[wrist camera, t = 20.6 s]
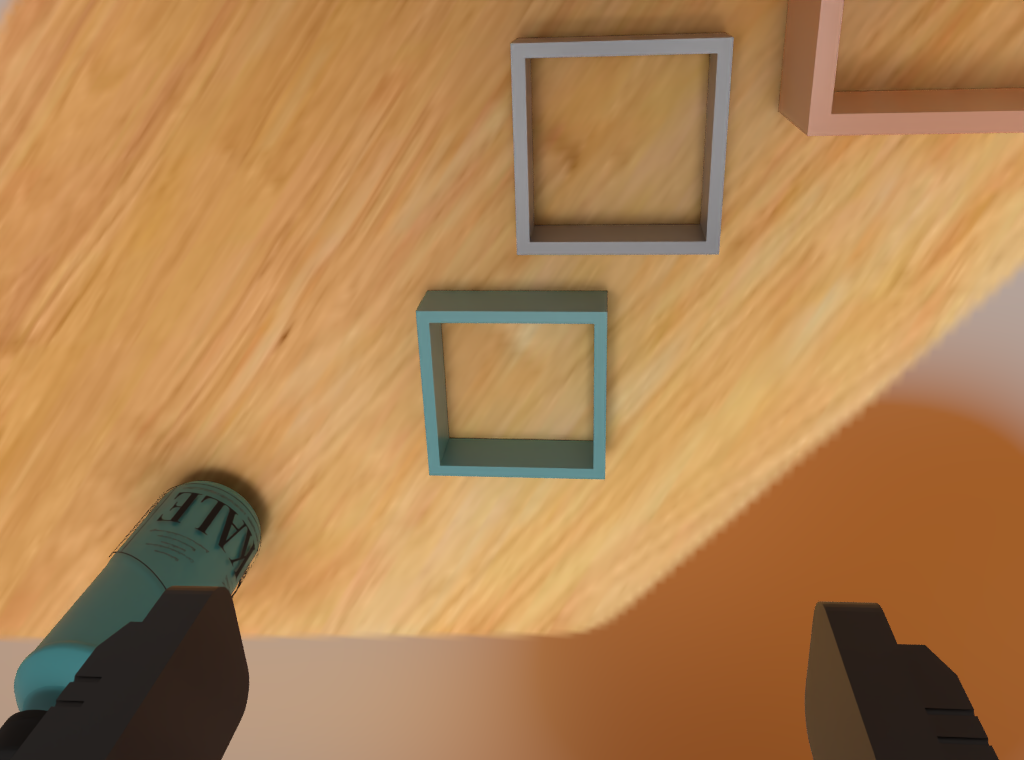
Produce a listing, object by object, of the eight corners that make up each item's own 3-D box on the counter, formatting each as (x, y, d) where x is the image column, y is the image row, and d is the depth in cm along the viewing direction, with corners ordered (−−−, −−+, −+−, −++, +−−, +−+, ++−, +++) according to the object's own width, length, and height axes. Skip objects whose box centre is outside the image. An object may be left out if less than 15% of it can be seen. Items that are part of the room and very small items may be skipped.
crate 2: (517, 38, 40) (510, 43, 37) (725, 32, 39) (733, 37, 36) (522, 237, 44) (516, 254, 41) (711, 236, 43) (718, 254, 40)
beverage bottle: (177, 551, 54) (-37, 842, 36) (159, 457, 52) (-82, 722, 33) (280, 558, 54) (115, 857, 36) (268, 463, 51) (82, 735, 33)
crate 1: (427, 290, 45) (415, 311, 43) (607, 290, 45) (607, 311, 42) (439, 447, 49) (429, 475, 47) (605, 450, 48) (604, 479, 46)
